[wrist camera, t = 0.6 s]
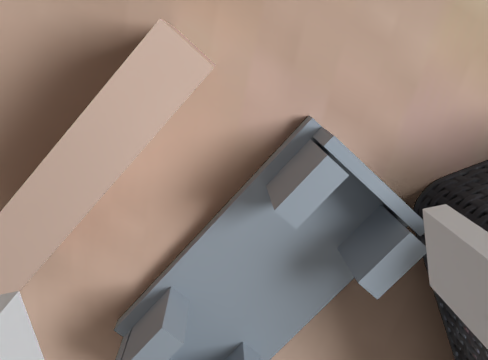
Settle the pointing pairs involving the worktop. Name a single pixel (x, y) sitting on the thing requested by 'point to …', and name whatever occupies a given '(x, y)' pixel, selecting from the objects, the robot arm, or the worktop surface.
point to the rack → (276, 257)
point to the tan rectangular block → (97, 150)
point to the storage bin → (479, 212)
